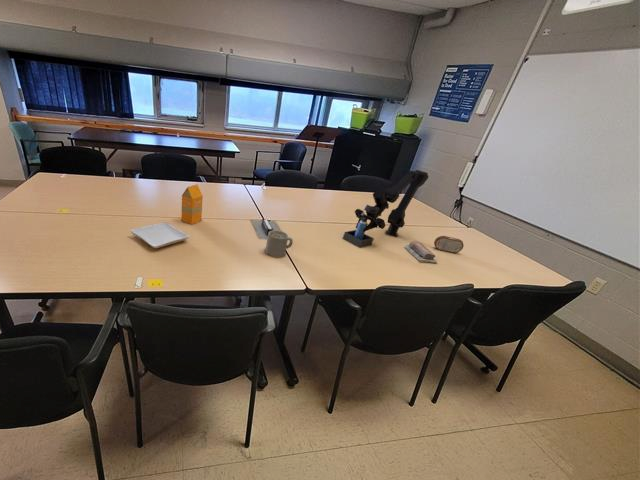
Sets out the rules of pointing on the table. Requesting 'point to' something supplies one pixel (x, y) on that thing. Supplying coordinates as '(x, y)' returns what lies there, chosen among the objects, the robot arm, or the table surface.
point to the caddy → (360, 243)
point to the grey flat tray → (264, 227)
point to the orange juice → (192, 204)
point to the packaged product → (420, 252)
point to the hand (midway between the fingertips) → (359, 229)
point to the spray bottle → (361, 228)
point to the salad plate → (160, 234)
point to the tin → (448, 244)
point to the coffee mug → (277, 243)
